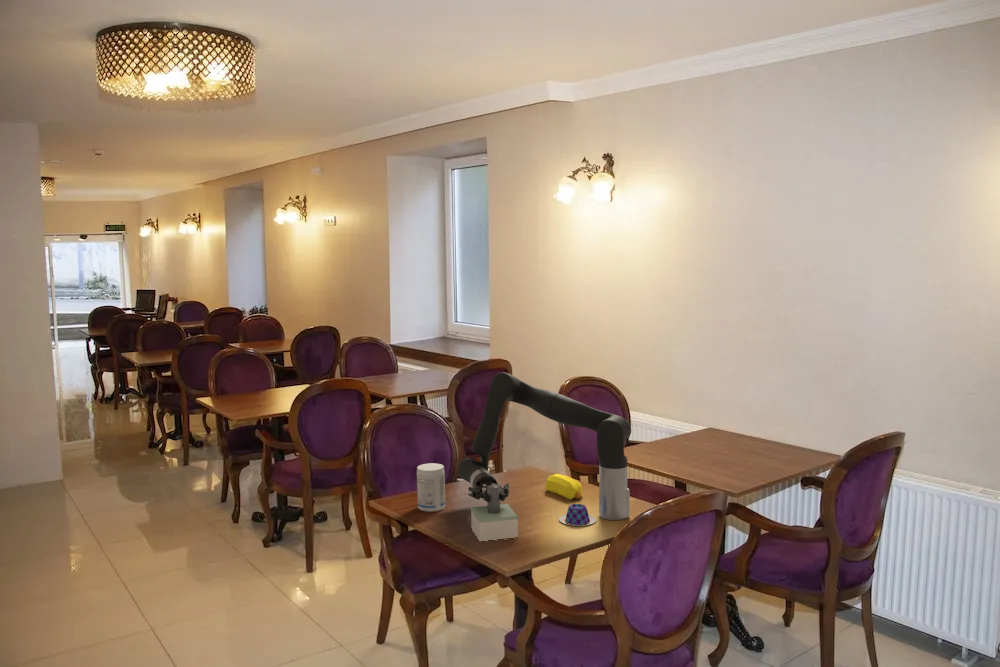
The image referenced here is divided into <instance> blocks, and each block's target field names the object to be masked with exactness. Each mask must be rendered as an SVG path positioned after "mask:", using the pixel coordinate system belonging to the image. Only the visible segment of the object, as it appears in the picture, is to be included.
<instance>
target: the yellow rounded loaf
mask: <svg viewBox="0 0 1000 667" xmlns="http://www.w3.org/2000/svg"><path fill="white" fill-rule="evenodd" d="M545 490H546V491H547V492H549V491H550V492H549V493H552V492H553V493H552V494H555V493H556V494H555V495H559V496H561V497H563V498H564V497H565V499H567V500H569V499H570V500H573V499H580V498H582V497H583V487H582V484H581V483H580V482H579V481H578V480H576V479H574V478H572V477H570V476H567V475H565V474H560V473H555V474H550V475H549V476H548V477H547V479H546V481H545Z"/></svg>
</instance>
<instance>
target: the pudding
mask: <svg viewBox="0 0 1000 667" xmlns="http://www.w3.org/2000/svg"><path fill="white" fill-rule="evenodd" d="M565 517H566V519H565ZM563 519H565V521H566V522H565V521H564V522H563ZM590 519H591V522H590ZM558 520H559V522H561V523H562V524H564V525H567V526H568V525H569V526H575V527H584V526H588V525H589V526H590V525H592V524H594V523H596V521H597V519H596V518H595V517H594V516H592V515H590V514H589V512H588V509H587V506H586V505H585V504H582V503H573V504H570V505H568V508H567V512H566V514H564V515H561V516H560V517H559V518H558ZM567 522H568V523H569V524H567ZM588 522H589V524H588ZM570 524H571V525H570ZM581 524H582V525H581ZM585 524H586V525H585Z"/></svg>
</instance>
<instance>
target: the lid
mask: <svg viewBox="0 0 1000 667" xmlns="http://www.w3.org/2000/svg"><path fill="white" fill-rule="evenodd" d="M499 485H500V484H499ZM499 485H489V486H487V493H488V494H489V495H490V502H487V501H486V503H487V505H484V506H472V507H470V508H471V509H470V511H472V512H473V514H474V515H475V517H476V518H477V520H478V521H479V523H483V522H493V521H504V520H514V519H518V520H519V516H518V515H517V514H516V512H515V511H514V510H513V509H512V507H511V506H510V505H509V503H505V504H501V500H500V486H499Z"/></svg>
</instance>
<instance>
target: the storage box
mask: <svg viewBox="0 0 1000 667" xmlns="http://www.w3.org/2000/svg"><path fill="white" fill-rule="evenodd" d="M470 511H471V510H470ZM470 513H471V514H470V516H471V519H470V520H471V522H470V523H471V525H470V526H471V528H472V529H471V530H472V532H473V533H475V534H474V536H475V537H476V536H477V537H476V538H477V540H478V541H485V542H489V541H488V540H495V541H498V540H497V539H503V538H504V540H506V539H505V538H513V537H519V536H518V534H519V532H518V531H519V527H518V526H519V524H518V521H519V518H518V519H514V520H504V521H493V522H483V523H479V521H478V520H477V518H476V517H475V515H474V514H473V512H472V511H471V512H470Z"/></svg>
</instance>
